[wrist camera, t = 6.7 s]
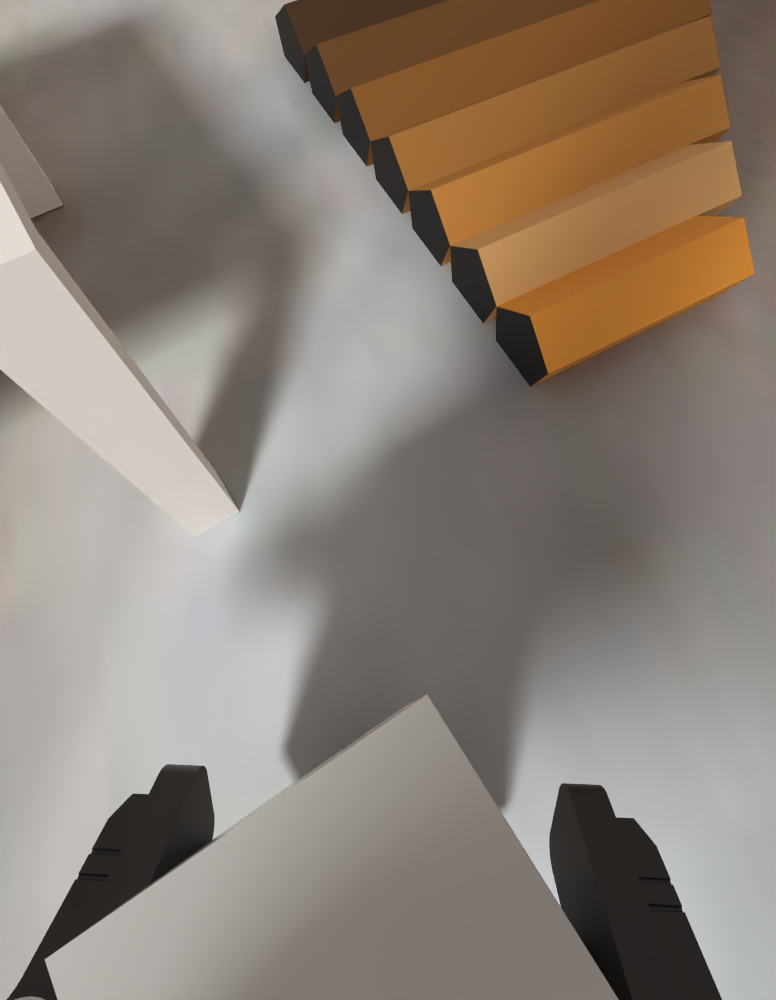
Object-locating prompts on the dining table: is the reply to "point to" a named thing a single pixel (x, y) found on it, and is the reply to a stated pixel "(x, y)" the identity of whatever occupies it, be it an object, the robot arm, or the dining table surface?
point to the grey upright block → (348, 895)
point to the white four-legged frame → (88, 358)
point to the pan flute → (542, 154)
